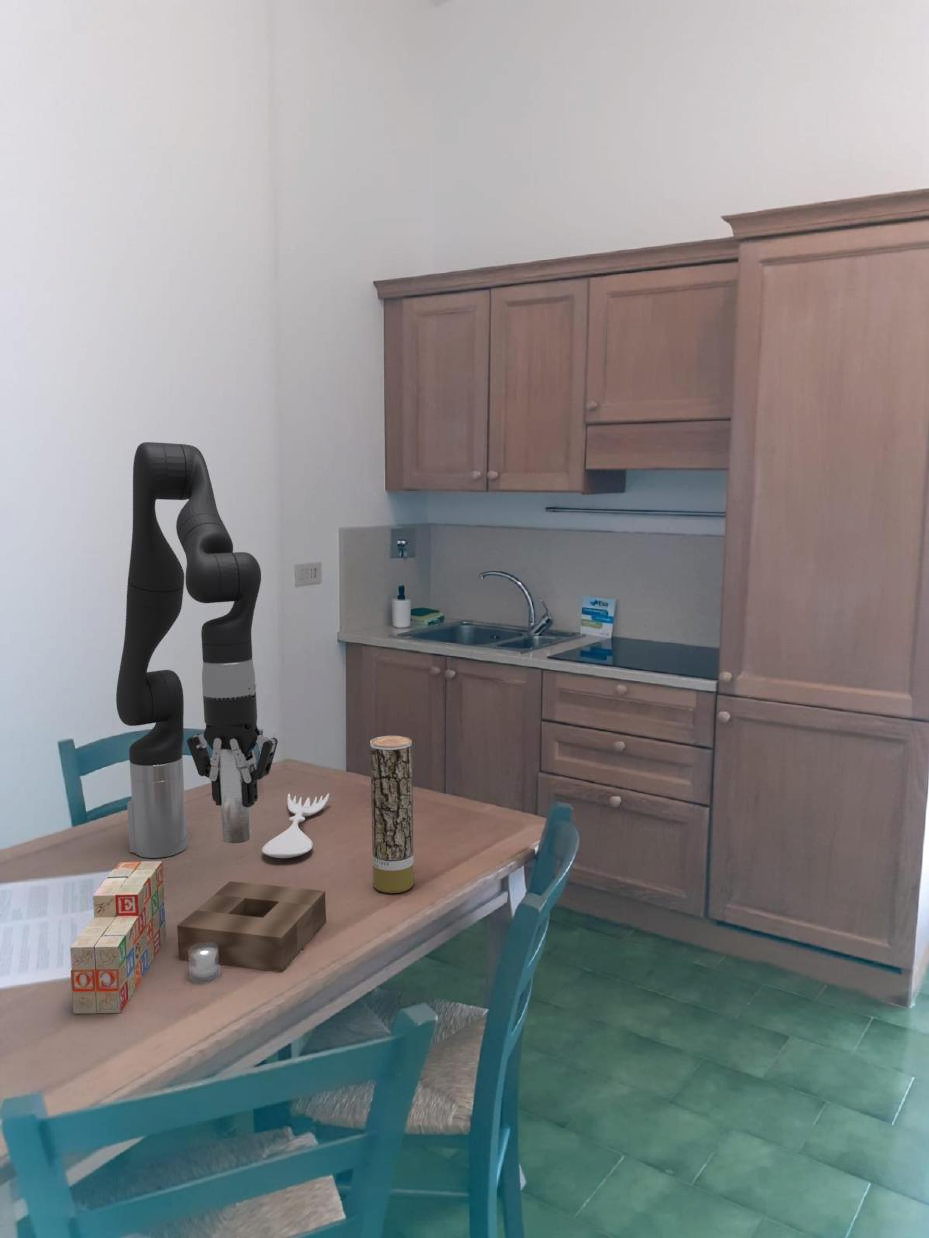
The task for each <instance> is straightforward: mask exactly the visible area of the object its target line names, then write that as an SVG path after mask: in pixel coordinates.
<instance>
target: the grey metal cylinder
mask: <svg viewBox="0 0 929 1238" xmlns="http://www.w3.org/2000/svg"><path fill="white" fill-rule="evenodd" d="M188 955H189V960H188V971H189V972H188V973H189V980H190V981H191V982H192V983H195V984H206V983H210V982H214V981H216V980H218V978H219V977H220V975H221V974H220V964H219V949H218V945H217V944H216V943H213V942H201V943H197V944H195V945H193V946H191V947H190V948H189V950H188Z"/></svg>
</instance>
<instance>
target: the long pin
mask: <svg viewBox="0 0 929 1238" xmlns="http://www.w3.org/2000/svg"><path fill="white" fill-rule="evenodd" d="M245 760H247V757H245ZM219 775H220V793H221V806H220V807H221V809H220V810H221V826H222V827H221V828H222V841H223V843H226V844H232V845H233V844H241V843H245V842H247V841H250V840H251V839H252V838H251V837H252V836H251V834H252V833H251V817H250V816H251V815H250V814H251V813H250V807H244V798H243V783H244V782H245V781H244V779H243V776H242V772H241V769H239V768H238V765H237V762H236V759H235V755H234V752H233V750H232V749H231V748H222V749H221V750H220V760H219Z"/></svg>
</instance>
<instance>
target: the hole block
mask: <svg viewBox="0 0 929 1238" xmlns="http://www.w3.org/2000/svg"><path fill="white" fill-rule="evenodd" d="M326 909H327V908H326V890H320V889H311V888H310V889H309V888H300V887H293V886H291V887H290V886H279V885H270V884H261V883H260V884H259V883H253V882H252V883H251V882H241V881H232V880H230V881H229V882H227V883H226V884H225V885H224V886H222V887H221V888H220V889H219V890H218V891H216V892H215V893H214V894H213V895H211V896H210V898H208V899H207V900H206V901H205V902H203V903H202V904H201V905H200V906H198V907H197V908H196V909H195V910H194V911H193V912H192V913H190V914H189V915H188V916H186V917H185V918H184V919H183V920H182V921H181V922H180V923H178V924H177V925H176V930H177V931H176V932H177V933H176V934H177V951H178V959H179V960H187V961H189V955H188V950H189V948H190V947H191V946H193V945H195V944H197V943H201V942H213V943H216V944H217V945H218V949H219V965H225V966H234V967H242V968H250V969H259V970H266V971H267V970H268V971H272V972H273V971H275V972H284V970H286V969H287V967H288V966H289V965H290V963H292V962H293V960H294V959H295V958H296V957H297V956H298V954H299V953H301V952H302V950H303V949H304V947H306V945H307V944H308V943H309V942H310V941H311V939H312V938H313V937H314V936H315V935H316V934H317V933H318V932H319V931H320V929H321V928H322V927H323V926H324V925H325V924H326V922H327V913H326V912H327V910H326Z"/></svg>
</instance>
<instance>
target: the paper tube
mask: <svg viewBox="0 0 929 1238" xmlns="http://www.w3.org/2000/svg"><path fill="white" fill-rule="evenodd" d="M412 741H413V740H412V739H411V738H409V737H407V736H402V735H401V736H400V735H384V736H379V737H375V738H372V739H371V740H370V742H369V755H370V793H371V795H370V800H371V801H370V802H371V804H370V805H371V806H370V807H371V844H372V846H371V847H372V848H371V849H372V850H371V851H372V853H371V854H372V879H373V880H372V883H373V884H372V885H373V886H374V888H375V889H376V890H377V891H379V892H381V893H385V894H400V893H403V892H407V891H409V890H410V889H411V888H412V887H413V886H414V882H415V879H414V878H415V877H414V875H415V872H414V869H415V868H414V867H415V865H414V862H415V861H414V859H415V857H414V809H413V808H414V805H413V804H414V803H413V802H414V801H413V800H414V799H413V796H414V795H413V794H414V793H413V792H414V791H413V742H412Z"/></svg>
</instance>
